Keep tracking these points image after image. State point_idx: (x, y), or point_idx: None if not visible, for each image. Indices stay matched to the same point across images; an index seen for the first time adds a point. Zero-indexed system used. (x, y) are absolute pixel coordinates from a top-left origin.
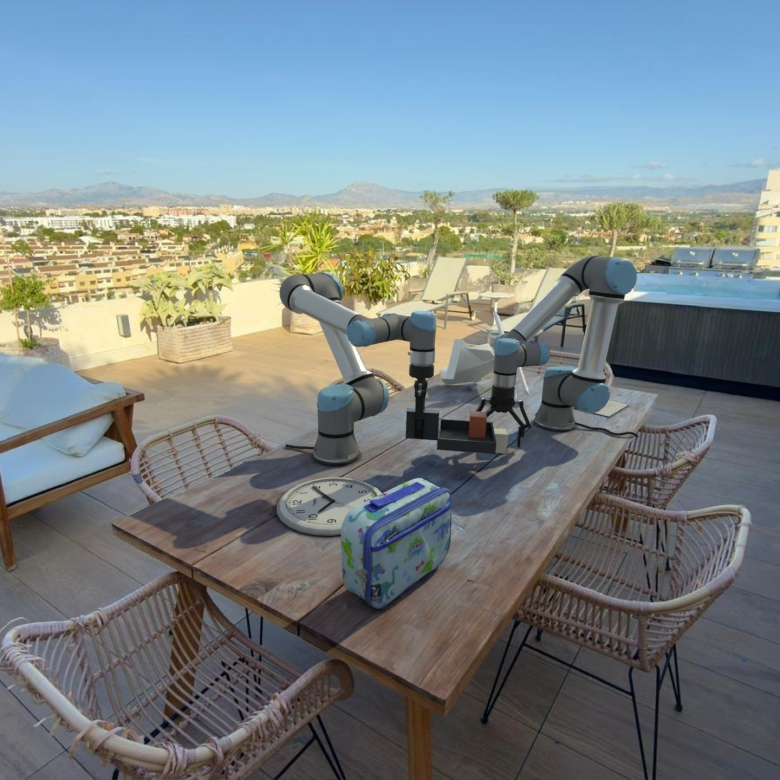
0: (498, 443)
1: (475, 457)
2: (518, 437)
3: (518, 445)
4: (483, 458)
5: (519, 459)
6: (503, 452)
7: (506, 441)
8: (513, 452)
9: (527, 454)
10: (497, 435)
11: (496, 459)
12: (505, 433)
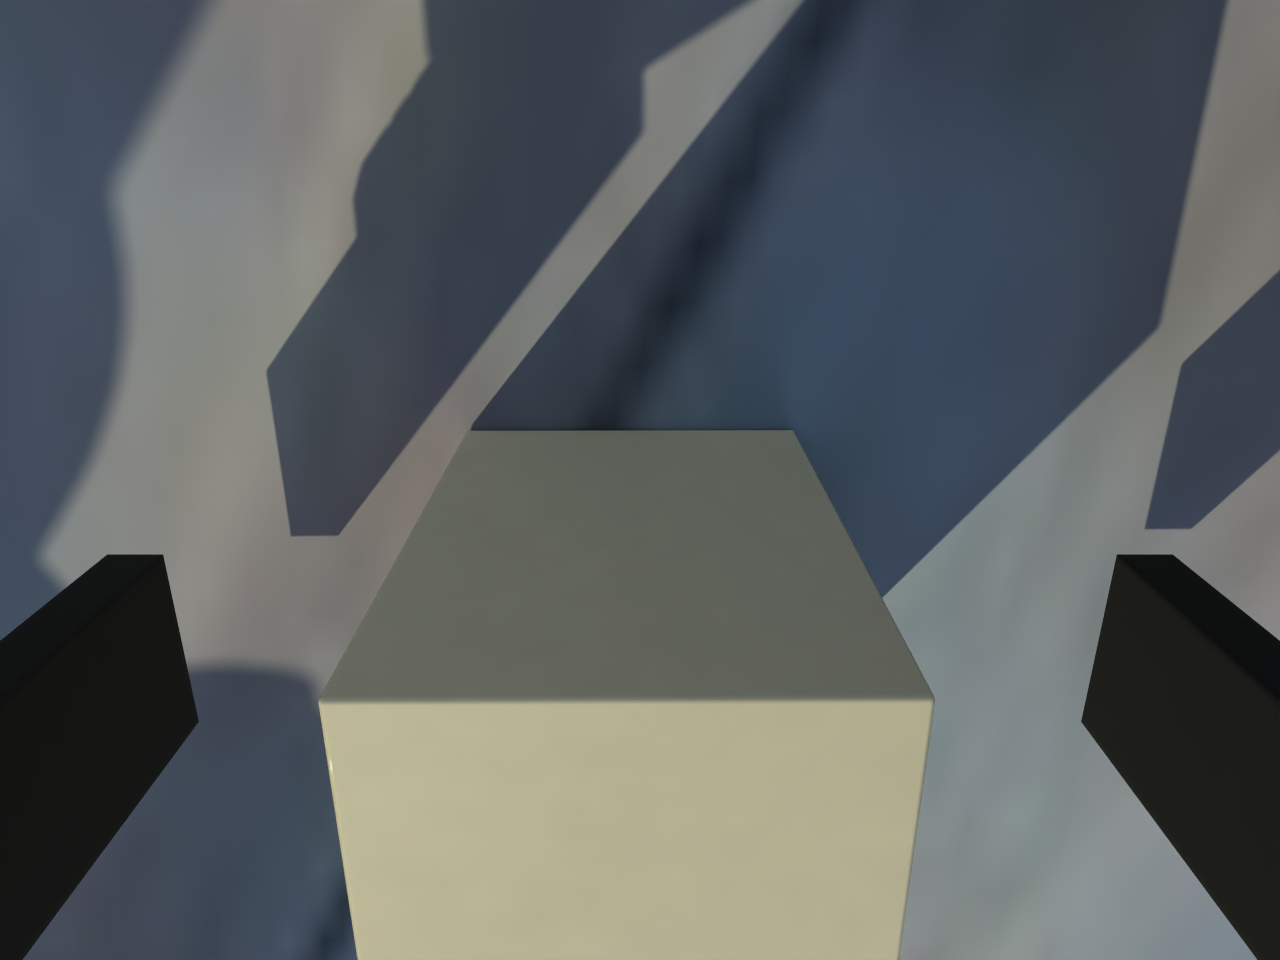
0: (658, 523)
1: (1221, 94)
2: (7, 748)
3: (120, 579)
4: (1032, 62)
5: (152, 148)
6: (523, 434)
7: (417, 555)
8: (308, 516)
9: (3, 461)
10: (730, 659)
11: (712, 52)
12: (413, 781)
